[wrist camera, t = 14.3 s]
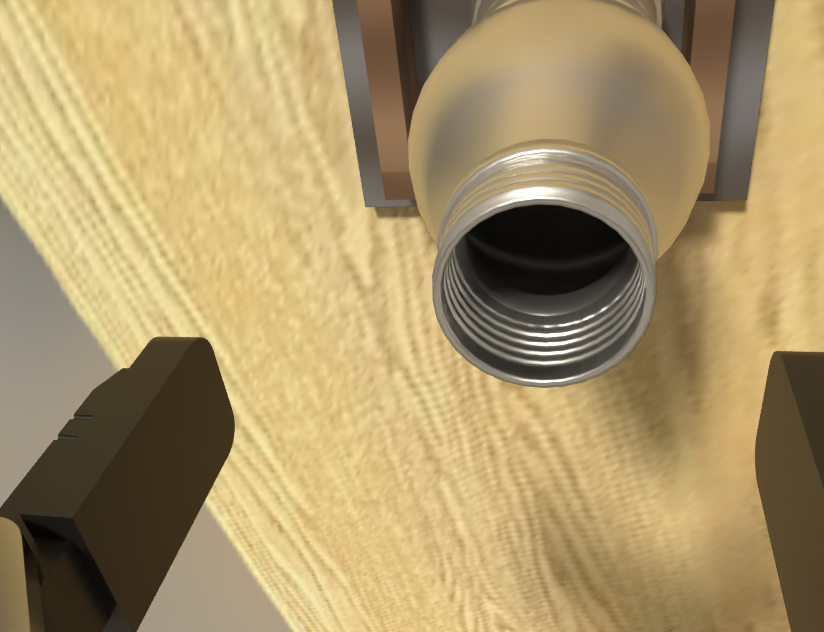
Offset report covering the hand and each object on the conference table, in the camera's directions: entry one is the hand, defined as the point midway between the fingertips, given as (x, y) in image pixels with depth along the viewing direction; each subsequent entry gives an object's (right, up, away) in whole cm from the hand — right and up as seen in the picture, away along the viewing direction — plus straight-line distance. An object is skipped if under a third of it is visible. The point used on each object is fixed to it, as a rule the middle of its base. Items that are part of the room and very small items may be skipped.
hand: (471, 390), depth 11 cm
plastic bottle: (+5, +13, +17) cm, 22 cm away
